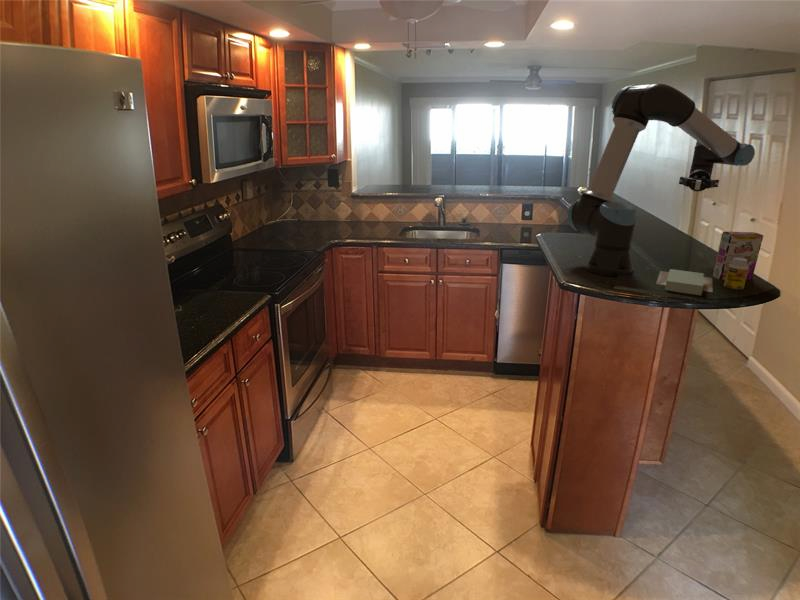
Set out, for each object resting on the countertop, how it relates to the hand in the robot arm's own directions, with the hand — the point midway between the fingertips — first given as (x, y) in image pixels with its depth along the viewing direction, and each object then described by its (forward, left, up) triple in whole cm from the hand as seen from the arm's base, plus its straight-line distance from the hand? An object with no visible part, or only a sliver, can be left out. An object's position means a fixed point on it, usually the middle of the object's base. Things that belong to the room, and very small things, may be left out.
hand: (697, 185), depth 181 cm
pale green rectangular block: (+2, -14, -28) cm, 31 cm away
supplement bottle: (+16, -15, -30) cm, 37 cm away
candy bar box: (+16, -3, -30) cm, 34 cm away
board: (+2, -16, -30) cm, 34 cm away
